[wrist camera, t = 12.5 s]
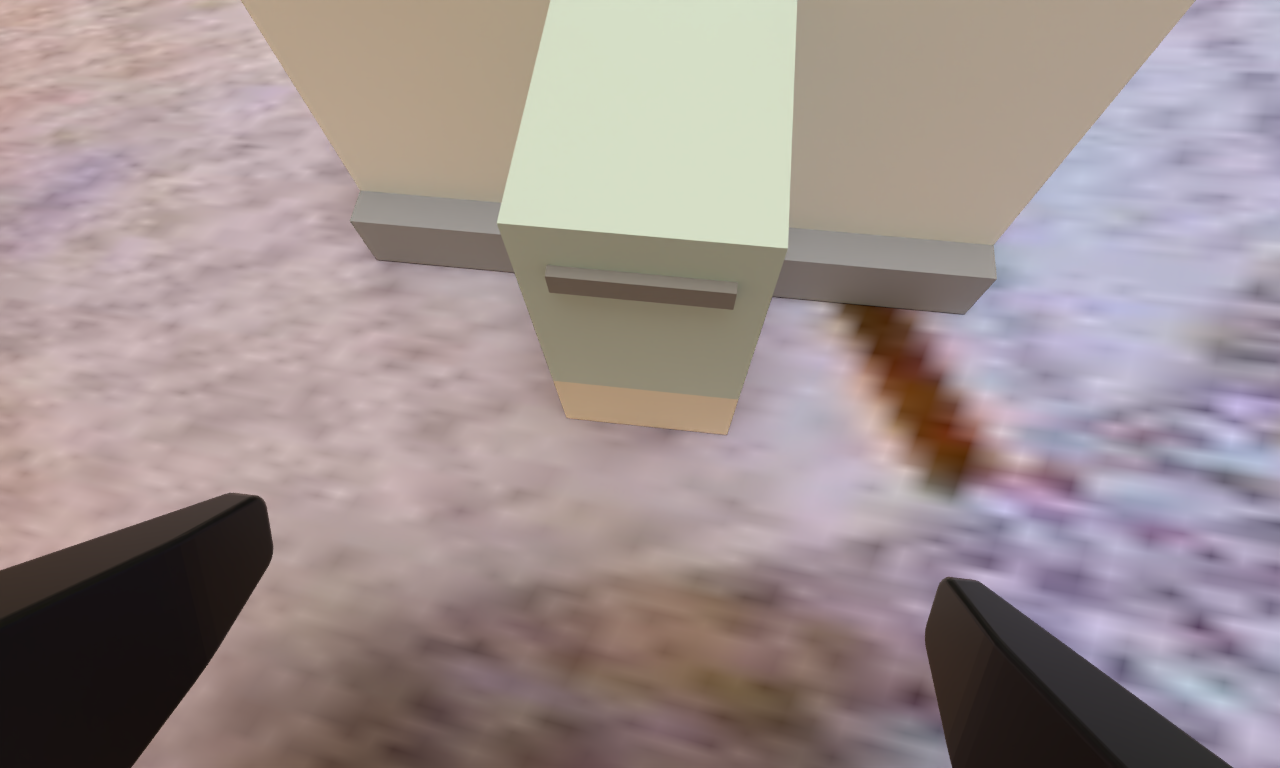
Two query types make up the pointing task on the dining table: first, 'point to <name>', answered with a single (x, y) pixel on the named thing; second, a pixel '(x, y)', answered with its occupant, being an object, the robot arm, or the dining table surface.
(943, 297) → the cream l-shaped piece
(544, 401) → the dining table surface
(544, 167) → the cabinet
